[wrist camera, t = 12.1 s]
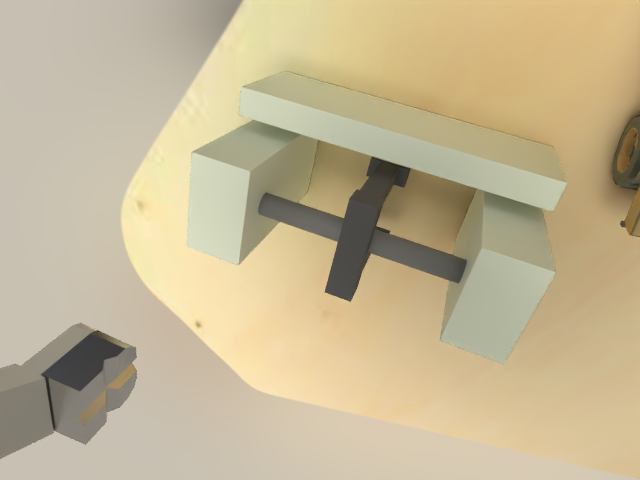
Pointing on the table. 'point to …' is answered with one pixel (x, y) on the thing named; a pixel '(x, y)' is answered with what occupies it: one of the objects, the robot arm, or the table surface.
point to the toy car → (629, 172)
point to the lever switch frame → (404, 149)
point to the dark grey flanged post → (362, 226)
